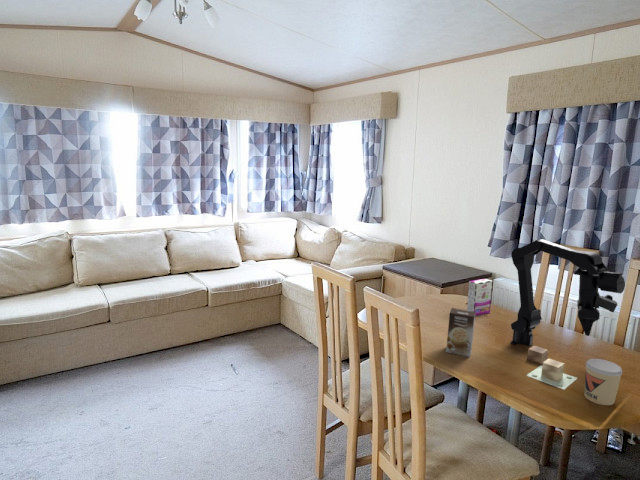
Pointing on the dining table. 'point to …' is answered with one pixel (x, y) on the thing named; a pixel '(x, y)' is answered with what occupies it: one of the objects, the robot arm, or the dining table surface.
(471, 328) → the coffee box
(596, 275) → the robot arm
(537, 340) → the dining table surface
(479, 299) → the candy bar box
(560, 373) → the oak block
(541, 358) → the walnut block
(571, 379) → the board
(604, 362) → the cream tub with lid
